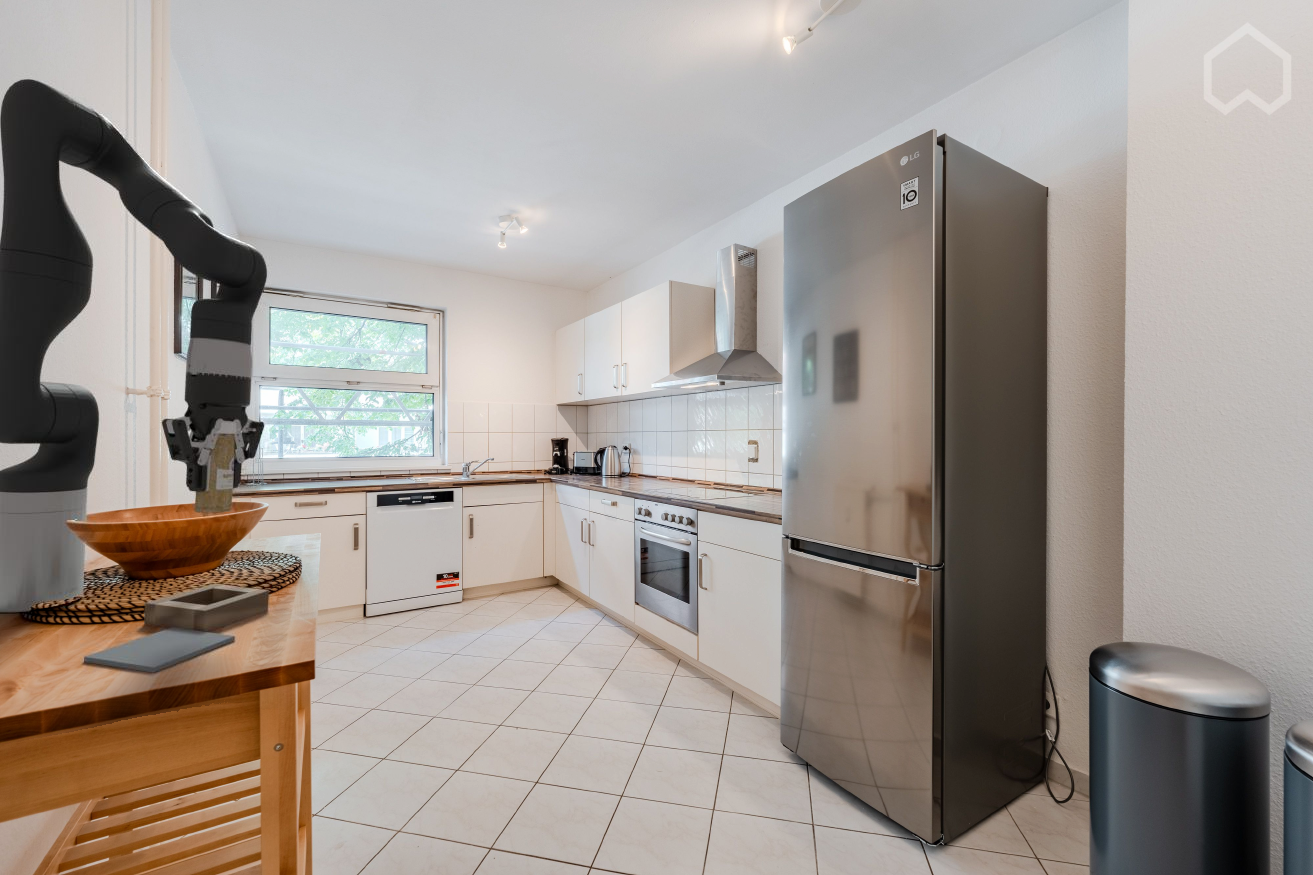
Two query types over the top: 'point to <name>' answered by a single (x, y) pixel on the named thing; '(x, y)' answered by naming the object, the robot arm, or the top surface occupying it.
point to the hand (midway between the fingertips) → (214, 488)
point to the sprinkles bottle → (219, 473)
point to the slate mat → (159, 649)
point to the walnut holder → (206, 607)
